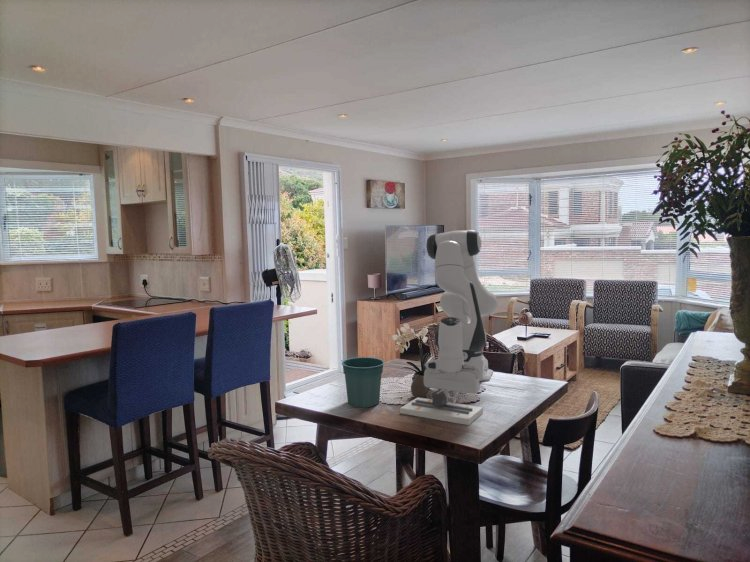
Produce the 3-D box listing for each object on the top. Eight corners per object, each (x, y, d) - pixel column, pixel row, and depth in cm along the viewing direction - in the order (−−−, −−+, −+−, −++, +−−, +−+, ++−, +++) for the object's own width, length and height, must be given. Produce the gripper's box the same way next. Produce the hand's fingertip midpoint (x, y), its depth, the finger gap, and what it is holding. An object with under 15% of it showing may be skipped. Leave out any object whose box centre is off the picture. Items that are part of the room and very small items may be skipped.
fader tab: (439, 403, 197) (439, 388, 196) (448, 404, 195) (448, 389, 194) (432, 408, 192) (432, 393, 191) (441, 409, 190) (441, 394, 189)
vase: (427, 400, 208) (427, 378, 207) (409, 399, 209) (409, 377, 209) (429, 395, 215) (429, 373, 214) (412, 394, 216) (411, 373, 215)
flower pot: (392, 399, 210) (391, 359, 208) (372, 412, 195) (371, 369, 194) (356, 394, 218) (355, 355, 216) (334, 406, 203) (333, 364, 202)
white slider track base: (417, 402, 206) (417, 395, 206) (482, 412, 193) (482, 405, 192) (400, 413, 194) (400, 405, 194) (468, 425, 181) (468, 417, 180)
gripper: (482, 365, 187) (482, 403, 189) (428, 359, 198) (429, 395, 199) (476, 369, 182) (476, 409, 183) (421, 363, 192) (421, 400, 194)
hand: (451, 402), depth 191 cm, fingers closed
